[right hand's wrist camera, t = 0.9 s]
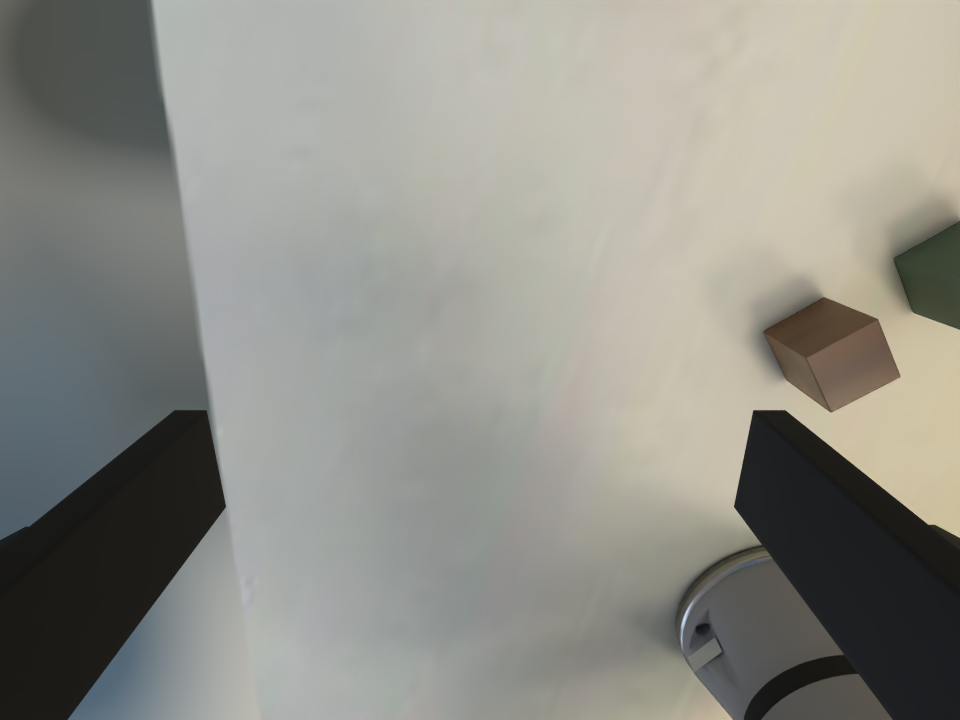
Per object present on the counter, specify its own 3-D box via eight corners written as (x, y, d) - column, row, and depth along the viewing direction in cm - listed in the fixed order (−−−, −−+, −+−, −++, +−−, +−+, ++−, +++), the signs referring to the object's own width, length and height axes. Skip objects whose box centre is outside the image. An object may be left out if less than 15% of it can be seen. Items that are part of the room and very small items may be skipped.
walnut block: (846, 348, 36) (901, 377, 32) (786, 380, 37) (830, 413, 32) (824, 296, 35) (878, 318, 30) (762, 331, 36) (805, 358, 31)
